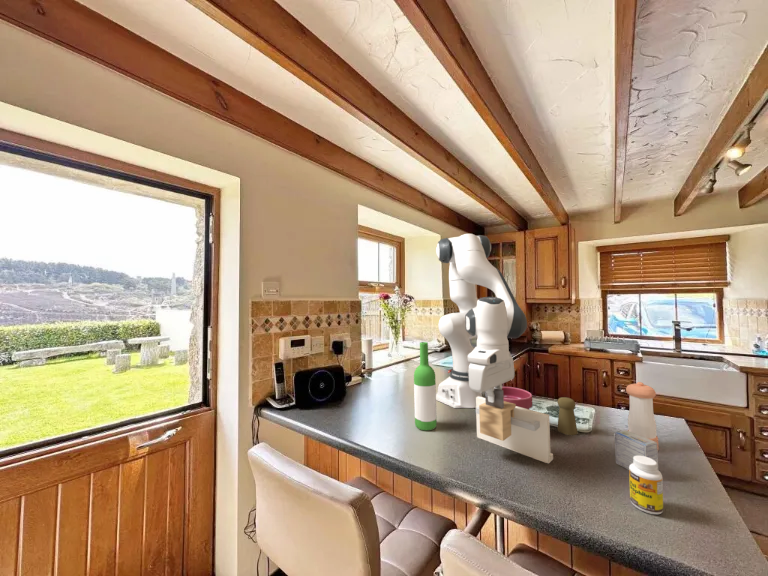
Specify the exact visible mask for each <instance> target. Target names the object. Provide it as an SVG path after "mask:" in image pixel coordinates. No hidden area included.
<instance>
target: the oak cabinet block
mask: <svg viewBox="0 0 768 576" xmlns="http://www.w3.org/2000/svg"><path fill="white" fill-rule="evenodd" d="M493 392H494V395H496V401H495V402H493V403H492V402H489V401H488V395H487V393H486V391H485V392H484V394H485V395H484V398H485V400H486V402H485V403H483V404H481V405H479V414H480V433H482V434H485V435H488V436H490V437H493V438H496V439H499V440H502V441H504V440H505V439H506V438H508V437H509V436H511V417H513V418H514V408H515V407H516V404H514V403H510V402H506V401H504V397H503V390H500V389H496V388H494V391H493Z"/></svg>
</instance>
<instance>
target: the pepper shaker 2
mask: <svg viewBox="0 0 768 576" xmlns="http://www.w3.org/2000/svg"><path fill="white" fill-rule="evenodd" d="M625 391H626V393H627V395H629V398H628V399H629V411H628V416H627V417H628V418H627V426H628V427H627V428H628V429H626V430H627V431H630V432H632V433H635V434H637V435H640V436H642V437H645V438H647V439H650V440H652V441H654V442H656V443H657V451H659V450H660V449H659V448H660V447H659V437H658V435H657V423H656V420H655V419H656V418H655V415H654V403H653V402H654V401H653V398H655V397H656V396H657V393H656V391H655V389H654V388H653V387H652V386H649V385H646V384H644V383H643V382H641V381H638V382H637V383H631V384H628V385H627V386H626V387H625Z"/></svg>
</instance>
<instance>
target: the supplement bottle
mask: <svg viewBox="0 0 768 576" xmlns="http://www.w3.org/2000/svg"><path fill="white" fill-rule="evenodd" d="M628 471H629V473H628V474H629V475H628V476H629V477H628V479H629V481H628V482H629V500H630V503H631V504H632V505H633V506H634V507H635V508H636V509H638V510H639V511H642V512H643V513H646V514H650V515H660V514H662V513H663V512H664V488H663V486H664V485H663V484H664V483H663V480H664V479H663V475H662V473H661V471H658V470H657V463H656V461H654V460H653V459H651V458H648V457H645V456H634V457H633V463H632V464H630V466H629V470H628Z"/></svg>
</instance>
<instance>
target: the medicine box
mask: <svg viewBox="0 0 768 576" xmlns="http://www.w3.org/2000/svg"><path fill="white" fill-rule="evenodd" d="M627 430H628V429H626V430H625V429H623V430H620V431H616V432H614V450H615V451H614V452H615V454H614V455H615V464H617V465H619V466H621V467H623V468H625V469H626V470H628V471H629V466H630V464H632V463H633V457H634V456H645V457H648V458H651V459H653V460H654V461H656V463H657V470H658V471H659V469H660V468H659V458H658V457H659V455H658V451H659V450H658V451H657V443H656V442H654V441H652V440H650V439H647V438H645V437H642V436H640V435H637V434H635V433H632V432H630V431H627Z"/></svg>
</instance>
